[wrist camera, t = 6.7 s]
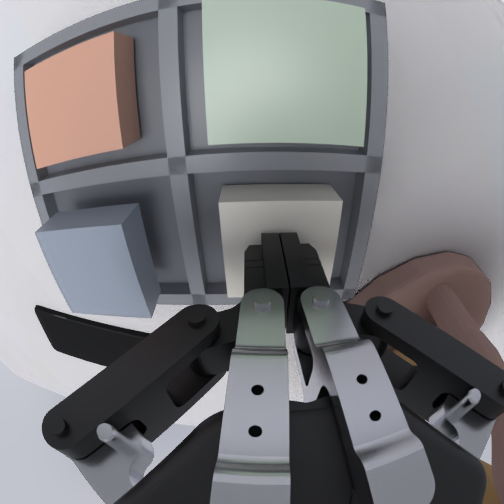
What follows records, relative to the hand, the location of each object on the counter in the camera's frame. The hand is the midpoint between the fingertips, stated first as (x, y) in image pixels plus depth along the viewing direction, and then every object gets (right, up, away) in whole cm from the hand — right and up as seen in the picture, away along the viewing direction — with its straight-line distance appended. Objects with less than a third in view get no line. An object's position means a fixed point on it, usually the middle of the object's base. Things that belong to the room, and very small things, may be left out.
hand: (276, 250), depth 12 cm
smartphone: (-15, -8, +10) cm, 20 cm away
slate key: (-8, 0, +1) cm, 8 cm away
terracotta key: (-9, +7, -2) cm, 11 cm away
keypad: (-4, +5, +1) cm, 6 cm away
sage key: (0, +7, -4) cm, 7 cm away
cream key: (0, +1, +2) cm, 2 cm away
